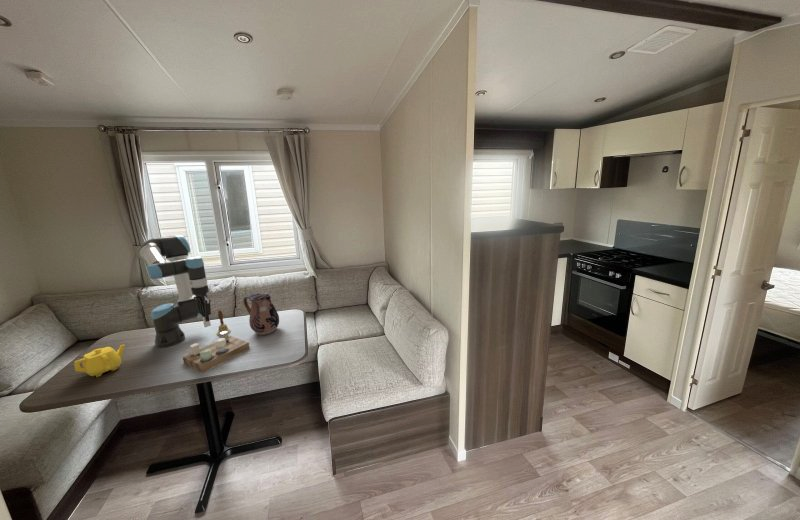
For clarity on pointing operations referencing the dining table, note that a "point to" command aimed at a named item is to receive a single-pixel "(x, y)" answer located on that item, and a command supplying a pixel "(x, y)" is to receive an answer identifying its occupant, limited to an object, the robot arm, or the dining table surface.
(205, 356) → the button sage
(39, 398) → the dining table surface
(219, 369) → the dining table surface
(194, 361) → the console
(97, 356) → the teapot
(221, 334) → the slider aluminium
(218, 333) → the hand bell
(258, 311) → the ceramic pitcher
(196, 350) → the slider ivory
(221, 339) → the button ivory
